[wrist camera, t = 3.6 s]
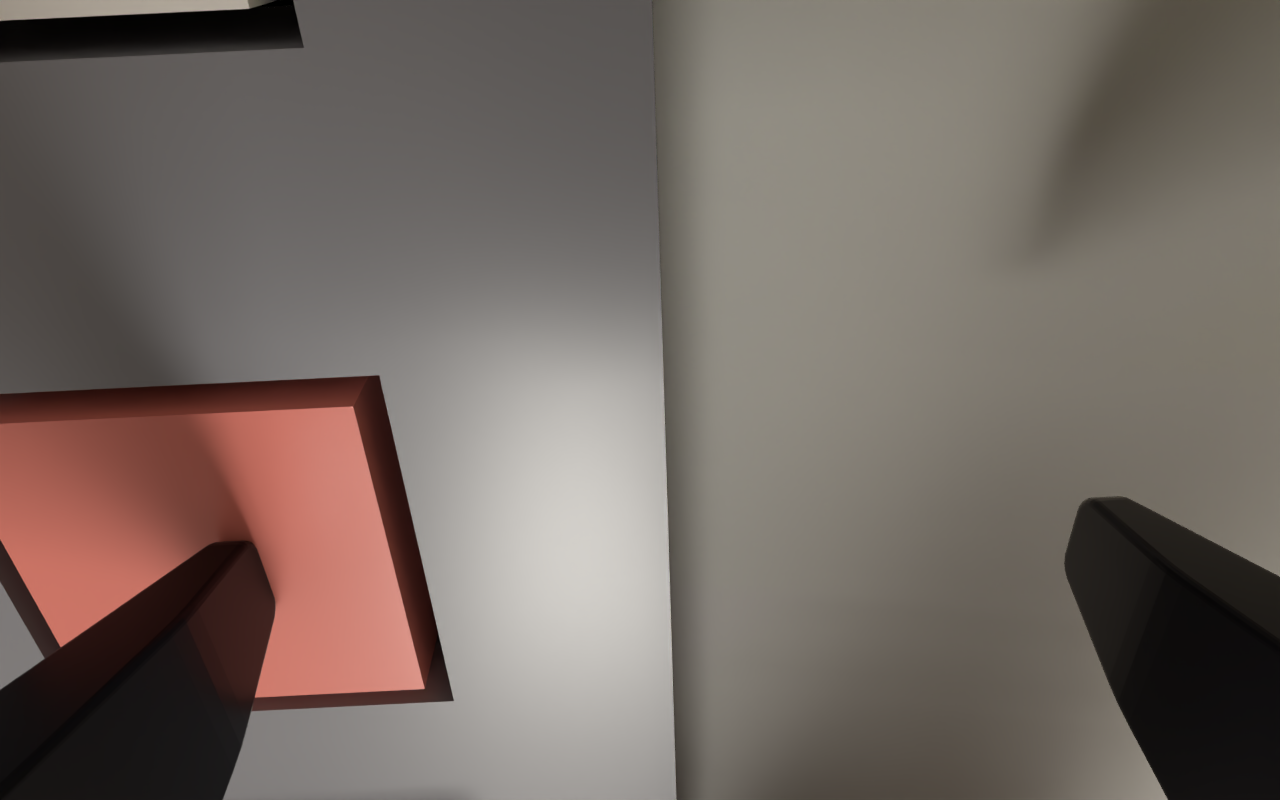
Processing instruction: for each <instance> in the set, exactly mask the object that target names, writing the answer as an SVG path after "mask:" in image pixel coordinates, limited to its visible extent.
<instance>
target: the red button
mask: <svg viewBox="0 0 1280 800" xmlns="http://www.w3.org/2000/svg"><path fill="white" fill-rule="evenodd" d="M0 540H1V542H2V543H3V545H4V547H5V549H6V551H7V552H8V554H9V556H10V558H11V559H12V561H13V563H14V565H15V567H16V568H17V570H18V572H19V574H20V576H21V577H22V579H23V581H24V583H25V584H26V586H27V588H28V590H29V592H30V593H31V595H32V597H33V599H34V601H35V602H36V604H37V606H38V608H39V610H40V611H41V613H42V615H43V617H44V618H45V620H46V622H47V624H48V626H49V627H50V629H51V631H52V633H53V635H54V636H55V638H56V640H57V642H58V643H59V645H60V647H62V646H63V645H65V644H66V643H68V642H69V641H71V640H72V639H74V638H75V637H76V636H78V635H79V634H81V633H82V632H84V631H85V630H87V629H88V628H89V627H91V626H92V625H94V624H95V623H97V622H98V621H99V620H101V619H102V618H104V617H105V616H107V615H108V614H110V613H111V612H112V611H114V610H115V609H117V608H118V607H120V606H121V605H122V604H124V603H125V602H127V601H128V600H130V599H131V598H133V597H134V596H135V595H137V594H138V593H140V592H141V591H143V590H144V589H145V588H147V587H148V586H150V585H151V584H153V583H154V582H156V581H157V580H158V579H160V578H161V577H163V576H164V575H166V574H167V573H168V572H170V571H171V570H173V569H174V568H176V567H177V566H179V565H180V564H181V563H183V562H184V561H186V560H187V559H189V558H190V557H191V556H193V555H194V554H196V553H197V552H199V551H200V550H202V549H203V548H204V547H206V546H208V545H209V544H211V543H214V542H224V541H244V540H245V541H249V542H251V543H253V544H254V545H255V547H256V548H257V550H258V553H259V556H260V558H261V561H262V564H263V567H264V569H265V572H266V575H267V578H268V581H269V583H270V586H271V589H272V592H273V594H274V597H275V603H276V611H275V618H274V623H273V627H272V631H271V635H270V639H269V643H268V647H267V651H266V655H265V659H264V663H263V667H262V671H261V675H260V679H259V683H258V687H257V691H256V695H255V698H256V697H276V696H296V695H316V694H336V693H355V692H375V691H395V690H415V689H425V686H426V682H427V677H428V673H429V669H430V665H431V661H432V656H433V652H434V648H435V644H436V639H437V635H438V629H437V625H436V620H435V616H434V612H433V607H432V603H431V599H430V594H429V590H428V586H427V581H426V577H425V572H424V568H423V564H422V559H421V555H420V551H419V546H418V542H417V538H416V533H415V529H414V525H413V520H412V516H411V511H410V507H409V503H408V498H407V494H406V490H405V485H404V481H403V477H402V472H401V468H400V464H399V459H398V455H397V451H396V446H395V442H394V437H393V433H392V429H391V424H390V420H389V416H388V411H387V407H386V403H385V398H384V394H383V390H382V385H381V381H380V376H379V375H374V376H354V377H334V378H313V379H293V380H273V381H252V382H232V383H212V384H191V385H171V386H151V387H130V388H110V389H90V390H69V391H49V392H29V393H8V394H0Z"/></svg>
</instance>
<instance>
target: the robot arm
mask: <svg viewBox="0 0 1280 800" xmlns="http://www.w3.org/2000/svg"><path fill="white" fill-rule="evenodd" d="M1064 564H1065V572H1066V576H1067V579H1068V582H1069V584H1070V587H1071V589H1072V592H1073V594H1074V597H1075V599H1076V602H1077V605H1078V607H1079V610H1080V612H1081V615H1082V617H1083V620H1084V622H1085V625H1086V627H1087V630H1088V632H1089V635H1090V637H1091V640H1092V642H1093V645H1094V647H1095V650H1096V652H1097V655H1098V657H1099V660H1100V662H1101V665H1102V667H1103V670H1104V672H1105V675H1106V677H1107V680H1108V682H1109V685H1110V687H1111V689H1112V692H1113V694H1114V696H1115V698H1116V701H1117V703H1118V705H1119V707H1120V709H1121V711H1122V713H1123V715H1124V717H1125V719H1126V721H1127V723H1128V725H1129V727H1130V729H1131V731H1132V732H1133V734H1134V736H1135V738H1136V740H1137V742H1138V744H1139V746H1140V748H1141V749H1142V751H1143V753H1144V755H1145V757H1146V759H1147V761H1148V763H1149V765H1150V766H1151V768H1152V770H1153V772H1154V774H1155V776H1156V778H1157V780H1158V782H1159V783H1160V785H1161V787H1162V789H1163V791H1164V793H1165V795H1166V797H1167V799H1168V800H1280V577H1279V576H1277V575H1276V574H1274V573H1272V572H1270V571H1268V570H1266V569H1264V568H1262V567H1260V566H1258V565H1256V564H1254V563H1252V562H1250V561H1248V560H1247V559H1245V558H1243V557H1241V556H1239V555H1237V554H1235V553H1233V552H1231V551H1229V550H1227V549H1225V548H1223V547H1221V546H1219V545H1218V544H1216V543H1214V542H1212V541H1210V540H1208V539H1206V538H1204V537H1202V536H1200V535H1198V534H1196V533H1194V532H1192V531H1190V530H1189V529H1187V528H1185V527H1183V526H1181V525H1179V524H1177V523H1175V522H1173V521H1171V520H1169V519H1167V518H1165V517H1163V516H1161V515H1160V514H1158V513H1156V512H1154V511H1152V510H1150V509H1148V508H1146V507H1144V506H1142V505H1140V504H1138V503H1136V502H1134V501H1132V500H1131V499H1128V498H1126V497H1119V496H1116V497H1097V498H1089V499H1086V500H1084V501H1083V502H1082V503H1081V505H1080V506H1079V509H1078V511H1077V515H1076V518H1075V522H1074V525H1073V529H1072V532H1071V536H1070V539H1069V543H1068V546H1067V550H1066V553H1065V563H1064ZM275 611H276V603H275V597H274V594H273V592H272V589H271V586H270V583H269V581H268V578H267V575H266V572H265V569H264V567H263V564H262V561H261V558H260V556H259V553H258V550H257V548H256V547H255V545H254V544H253V543H251V542H249V541H245V540H244V541H224V542H214V543H211V544H209V545H208V546H206V547H204V548H203V549H202V550H200V551H199V552H197V553H196V554H194V555H193V556H191V557H190V558H189V559H187V560H186V561H184V562H183V563H181V564H180V565H179V566H177V567H176V568H174V569H173V570H171V571H170V572H168V573H167V574H166V575H164V576H163V577H161V578H160V579H158V580H157V581H156V582H154V583H153V584H151V585H150V586H148V587H147V588H145V589H144V590H143V591H141V592H140V593H138V594H137V595H135V596H134V597H133V598H131V599H130V600H128V601H127V602H125V603H124V604H122V605H121V606H120V607H118V608H117V609H115V610H114V611H112V612H111V613H110V614H108V615H107V616H105V617H104V618H102V619H101V620H99V621H98V622H97V623H95V624H94V625H92V626H91V627H89V628H88V629H87V630H85V631H84V632H82V633H81V634H79V635H78V636H76V637H75V638H74V639H72V640H71V641H69V642H68V643H66V644H65V645H63V646H62V647H61V648H59V649H58V650H56V651H55V652H53V653H52V654H51V655H49V656H48V657H46V658H45V659H43V660H42V661H40V662H39V663H38V664H36V665H35V666H33V667H32V668H30V669H29V670H27V671H26V672H25V673H23V674H22V675H20V676H19V677H17V678H16V679H15V680H13V681H12V682H10V683H9V684H7V685H6V686H4V687H3V688H2V689H0V800H223V798H224V795H225V793H226V790H227V787H228V785H229V782H230V779H231V776H232V774H233V771H234V768H235V765H236V762H237V760H238V757H239V754H240V751H241V748H242V745H243V741H244V737H245V734H246V730H247V727H248V723H249V719H250V715H251V711H252V707H253V703H254V699H255V695H256V691H257V687H258V683H259V679H260V675H261V671H262V667H263V663H264V659H265V655H266V651H267V647H268V643H269V639H270V635H271V631H272V627H273V623H274V618H275Z"/></svg>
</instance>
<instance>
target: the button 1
mask: <svg viewBox="0 0 1280 800" xmlns="http://www.w3.org/2000/svg"><path fill="white" fill-rule="evenodd" d="M273 1H276V0H0V21H4V20H25V19H45V18H66V17H87V16H108V15H129V14H150V13H171V12H191V11H212V10H233V9H250V8H254V7H257V6H260V5H263V4H267V3H270V2H273Z"/></svg>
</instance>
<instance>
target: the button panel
mask: <svg viewBox="0 0 1280 800" xmlns="http://www.w3.org/2000/svg"><path fill="white" fill-rule="evenodd" d="M293 2H294V5H293V6H272V7H254V8H250V9H233V10H212V11H191V12H171V13H150V14H129V15H108V16H87V17H66V18H45V19H25V20H4V21H0V394H8V393H29V392H49V391H69V390H90V389H110V388H130V387H151V386H171V385H191V384H212V383H232V382H252V381H273V380H293V379H313V378H334V377H354V376H374V375H379V376H380V381H381V385H382V390H383V394H384V398H385V403H386V407H387V411H388V416H389V420H390V424H391V429H392V433H393V437H394V442H395V446H396V451H397V455H398V459H399V464H400V468H401V472H402V477H403V481H404V485H405V490H406V494H407V498H408V503H409V507H410V511H411V516H412V520H413V525H414V529H415V533H416V538H417V542H418V546H419V551H420V555H421V559H422V564H423V568H424V572H425V577H426V581H427V586H428V590H429V594H430V599H431V603H432V607H433V612H434V616H435V620H436V625H437V629H438V635H437V639H436V644H435V648H434V652H433V656H432V661H431V665H430V669H429V673H428V677H427V682H426V686H425V689H415V690H395V691H375V692H355V693H336V694H316V695H296V696H276V697H256V698H255V699H254V703H253V707H252V711H251V715H250V719H249V723H248V727H247V730H246V734H245V737H244V741H243V745H242V748H241V751H240V754H239V757H238V760H237V762H236V765H235V768H234V771H233V774H232V776H231V779H230V782H229V785H228V787H227V790H226V793H225V795H224V798H223V800H676V769H675V736H674V703H673V670H672V637H671V604H670V571H669V538H668V506H667V473H666V440H665V407H664V374H663V341H662V308H661V275H660V242H659V209H658V176H657V143H656V110H655V77H654V44H653V11H652V0H293ZM59 648H61V647H60V645H59V643H58V642H57V640H56V638H55V636H54V635H53V633H52V631H51V629H50V627H49V626H48V624H47V622H46V620H45V618H44V617H43V615H42V613H41V611H40V610H39V608H38V606H37V604H36V602H35V601H34V599H33V597H32V595H31V593H30V592H29V590H28V588H27V586H26V584H25V583H24V581H23V579H22V577H21V576H20V574H19V572H18V570H17V568H16V567H15V565H14V563H13V561H12V559H11V558H10V556H9V554H8V552H7V551H6V549H5V547H4V545H3V543H2V542H1V540H0V689H2V688H3V687H4V686H6V685H7V684H9V683H10V682H12V681H13V680H15V679H16V678H17V677H19V676H20V675H22V674H23V673H25V672H26V671H27V670H29V669H30V668H32V667H33V666H35V665H36V664H38V663H39V662H40V661H42V660H43V659H45V658H46V657H48V656H49V655H51V654H52V653H53V652H55V651H56V650H58V649H59Z"/></svg>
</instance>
